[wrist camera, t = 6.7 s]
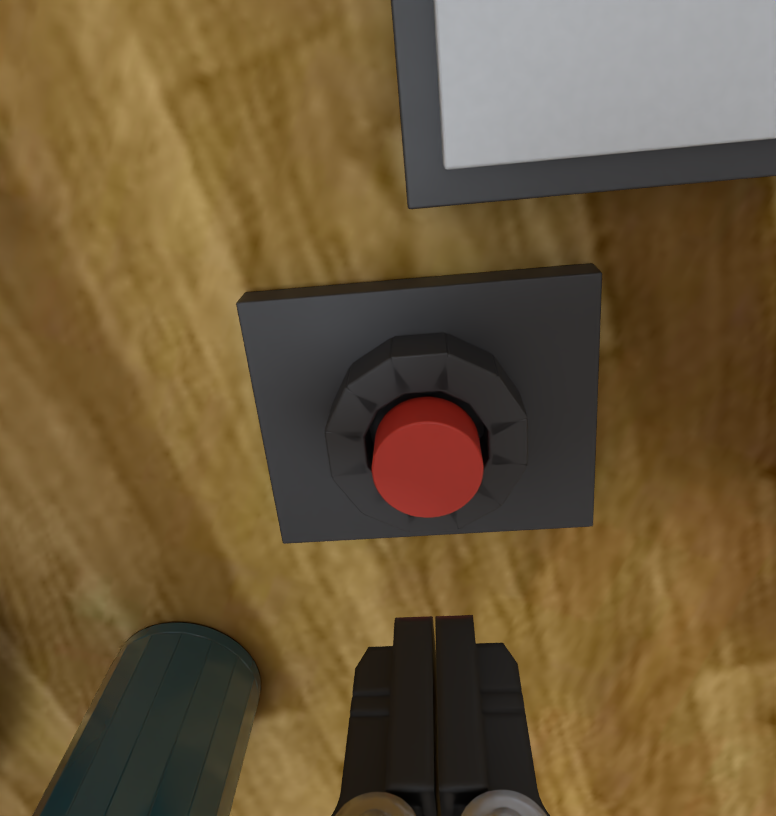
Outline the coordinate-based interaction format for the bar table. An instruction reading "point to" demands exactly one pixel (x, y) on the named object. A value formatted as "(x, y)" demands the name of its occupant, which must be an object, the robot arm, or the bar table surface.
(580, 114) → the scale
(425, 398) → the button
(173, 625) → the cup
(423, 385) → the pad
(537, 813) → the robot arm
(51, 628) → the bar table surface
